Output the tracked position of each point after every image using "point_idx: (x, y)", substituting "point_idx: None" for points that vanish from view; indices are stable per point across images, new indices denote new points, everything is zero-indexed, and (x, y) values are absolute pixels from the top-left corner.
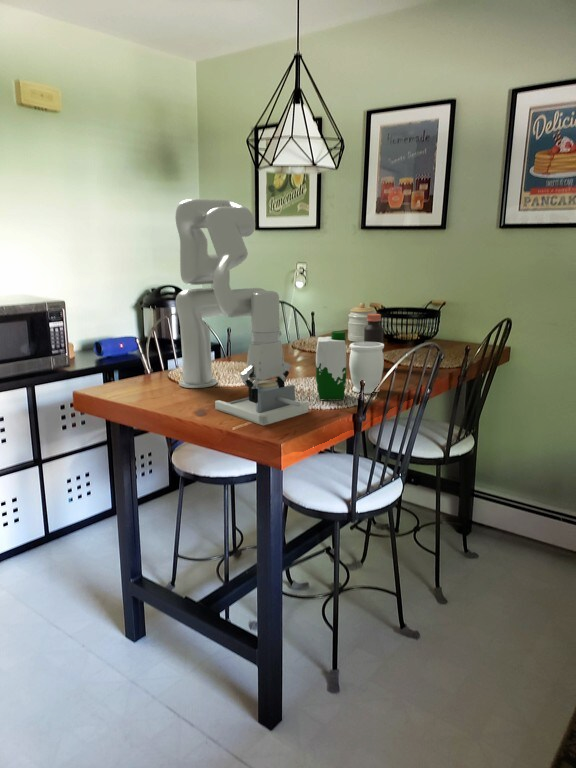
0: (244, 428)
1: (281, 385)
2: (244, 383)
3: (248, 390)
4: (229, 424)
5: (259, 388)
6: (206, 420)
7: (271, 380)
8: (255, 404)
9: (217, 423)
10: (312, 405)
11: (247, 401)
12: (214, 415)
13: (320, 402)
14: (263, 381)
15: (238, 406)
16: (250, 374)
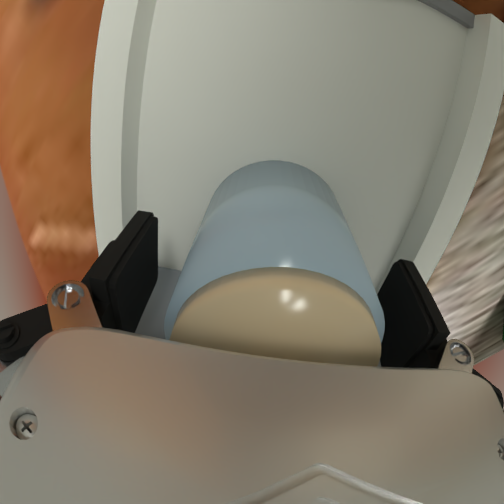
0: (62, 264)
1: (385, 363)
2: (11, 324)
3: (84, 277)
4: (41, 191)
5: (167, 336)
6: (11, 77)
7: (378, 355)
8: (344, 85)
9: (18, 144)
10: (449, 308)
11: (372, 3)
12: (66, 31)
13: (484, 307)
14: (306, 329)
15: (119, 124)
16: (91, 363)
